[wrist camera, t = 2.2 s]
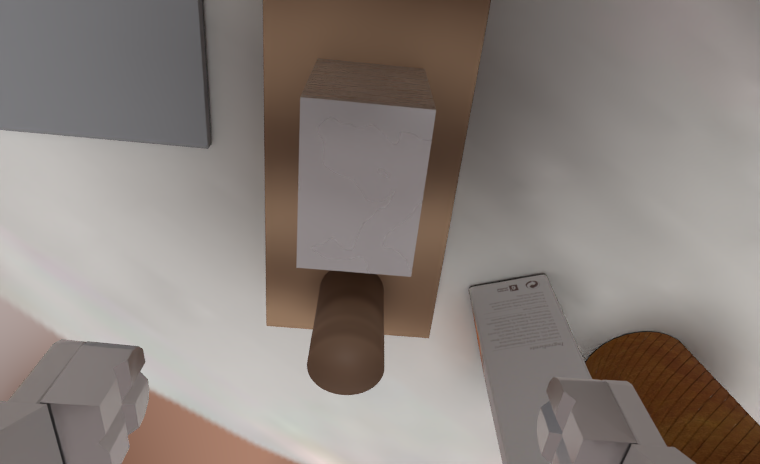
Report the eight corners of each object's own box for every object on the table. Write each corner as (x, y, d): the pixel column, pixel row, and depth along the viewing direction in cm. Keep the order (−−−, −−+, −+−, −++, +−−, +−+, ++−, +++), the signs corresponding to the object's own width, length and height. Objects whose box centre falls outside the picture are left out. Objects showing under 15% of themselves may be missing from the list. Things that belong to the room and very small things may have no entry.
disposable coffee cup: (749, 321, 30) (942, 533, 20) (672, 435, 35) (795, 655, 25) (587, 295, 29) (699, 503, 19) (530, 416, 34) (595, 635, 24)
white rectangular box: (317, 58, 20) (300, 97, 16) (424, 68, 20) (436, 110, 16) (312, 201, 23) (296, 267, 19) (405, 210, 23) (411, 276, 19)
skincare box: (465, 285, 29) (511, 490, 19) (546, 270, 29) (639, 473, 18) (480, 367, 32) (526, 583, 22) (553, 355, 32) (637, 570, 21)
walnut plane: (276, -170, 19) (217, -218, 12) (500, -144, 20) (566, -176, 13) (276, 289, 29) (244, 405, 22) (424, 300, 30) (437, 418, 23)
